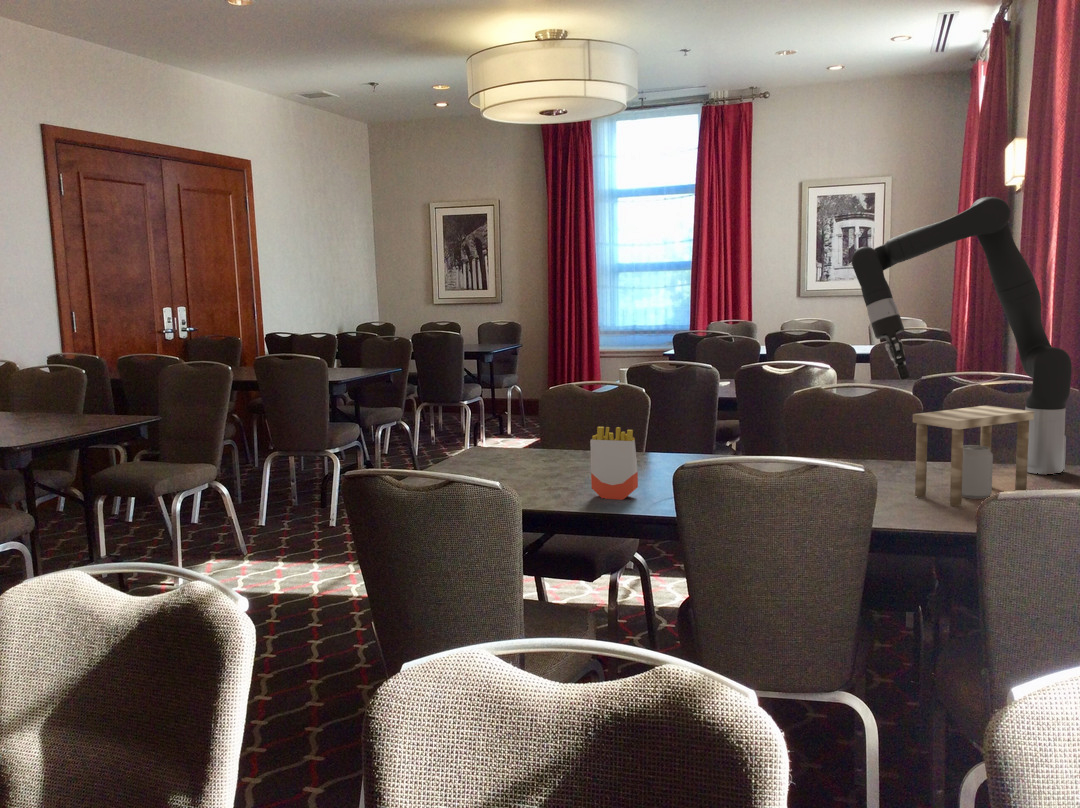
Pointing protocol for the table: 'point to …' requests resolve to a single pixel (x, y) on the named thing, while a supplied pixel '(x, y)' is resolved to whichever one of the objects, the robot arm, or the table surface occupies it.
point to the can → (977, 471)
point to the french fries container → (613, 464)
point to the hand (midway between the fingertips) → (905, 379)
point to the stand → (958, 423)
